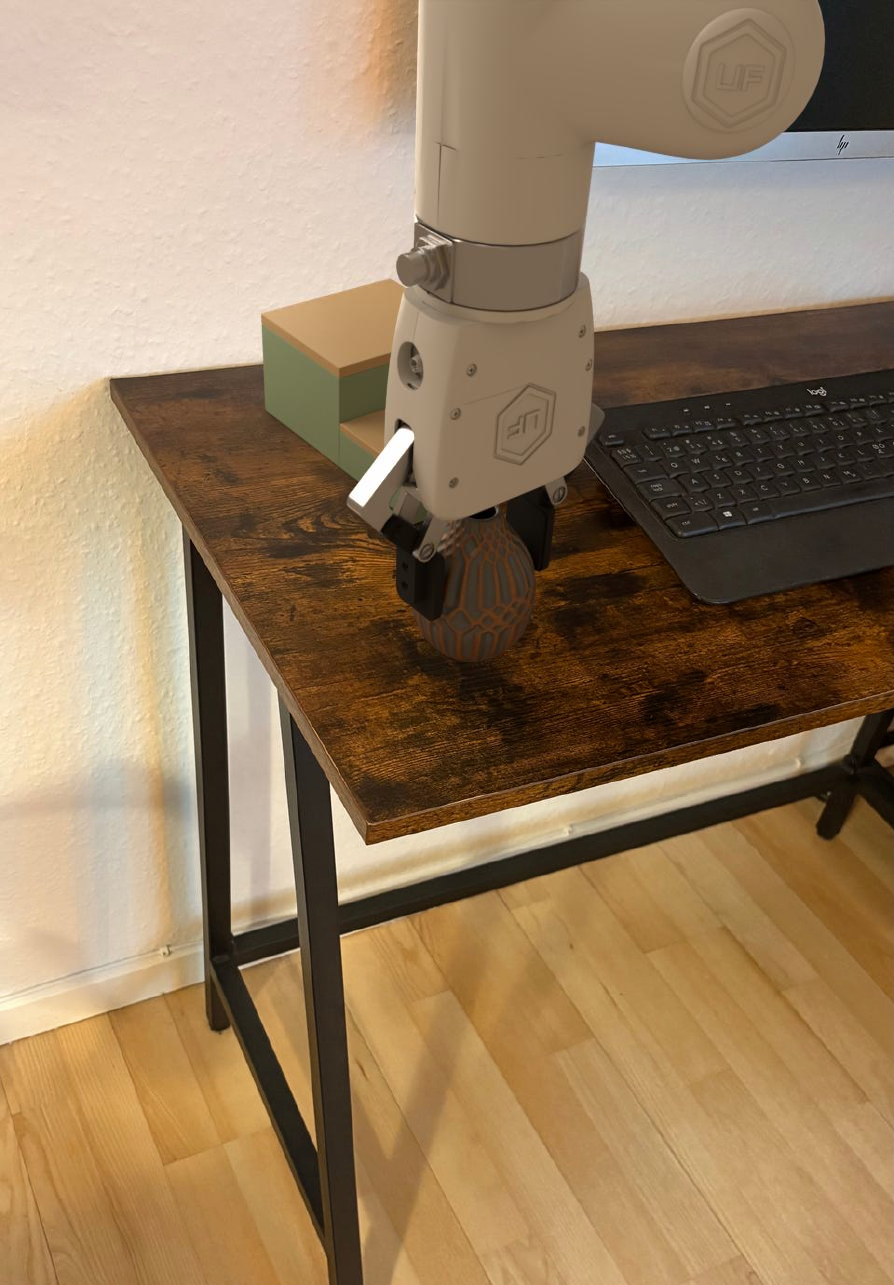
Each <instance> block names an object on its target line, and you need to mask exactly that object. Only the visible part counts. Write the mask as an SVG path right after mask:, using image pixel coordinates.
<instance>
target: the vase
mask: <svg viewBox="0 0 894 1285" xmlns="http://www.w3.org/2000/svg"><path fill="white" fill-rule="evenodd" d="M437 552H439V553H440V554H441V555H442V556H443V557H444V559H445V577H444V596H443V613H442V614H441V617H440V618H439V619H437V620H435V621H432V622H430V621H428V620H427V619H426V618H425V617H424V616H422V615H421V614H420V613H419V612H417V611H416V610H415V609H414V608H413V607H411V610H412V614H413V616H414V617H413V618H414V619H415V622H416V625H417V627H418V630H419V631H420V634H421V635H422V636H423V638H424V639H425V640H426V641H427V642H428V643H429V645H431V646H432V647H433V648H434V649H435V650H437V651H438V652H440V653H441V654H443V655H444V656H446V657H448V658H451V659H453V660H456V661H459V662H464V663H465V662H466V663H477V662H485V661H488V660H491V659H494V658H496V657H498V656H500V655H502V654H503V653H505V652H506V651H508V650H509V649H510V648H512V647H513V646H514V645H515V644H516V643H517V642H518V640H519V639H520V638H521V637H522V635H524V632H525V630H526V629H527V627H528V625H529V623H530V620H531V617H532V615H533V610H534V607H535V602H536V601H535V600H536V595H537V576H536V571H535V570H534V565H533V561H532V558H531V555H530V553H529V550H528V548H527V546H526V545H525V543H524V541H523V540H522V539H521V537H520V536H519V535H518V534H517V532H516V531H515V530H514V529H513V528H512V526H511V525H510V524H509V523H508V522H507V520H506V515H505V514H504V512H503V509H502V506H501V505H500V504H498V505H495V506H493V507H490V508H488V509H486V510H483V511H481V512H478V513H476V514H473V515H471V516H468V517H465V518H462V519H459V520H454V521H449V523H448V525H447V528H446V530H445V532H444V535H443V537H442V539H441V542H440V544H439V546H438V549H437Z"/></svg>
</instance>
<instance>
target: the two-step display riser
mask: <svg viewBox="0 0 894 1285" xmlns="http://www.w3.org/2000/svg"><path fill="white" fill-rule="evenodd" d="M406 288H407V287H406V286H405V285H403V284H400V283H399V282H397V281H396V280H394V279H392V278H386V279H382V280H379V281H374V282H371V283H368V284H364V285H360V286H356V287H353V288H350V289H345V290H341V291H338V292H334V293H331V294H328V295H327V294H326V295H324V296H320V297H317V298H313V299H309V300H305V301H301V302H298V303H294V304H289V305H287V306H283V307H279V308H276V309H272V310H268V311H264V312H261V313H260V319H261V320H260V323H261V346H262V364H263V365H262V367H263V368H262V370H263V384H264V385H263V386H264V387H263V388H264V409H265V411H266V412H267V413H268V414H270V415H271V416H272V417H274V418H275V419H276V420H278V421H279V422H280V423H282V424H283V425H284V426H285V427H287V428H288V429H289V430H290V431H292V432H293V433H294V434H296V436H298V437H300V438H301V439H302V440H303V441H305V442H306V443H307V444H309V445H310V446H311V447H313V448H314V449H315V450H317V451H318V452H319V453H320V454H322V455H323V456H324V457H326V458H327V460H329V461H331V462H332V463H333V464H335V465H336V466H337V467H338V468H339V469H341V470H342V471H343V472H345V473H346V474H347V475H349V476H350V477H351V478H353V479H354V480H355V481H357V482H358V483H359V481H360V480H361V479H362V477H363V476H364V475H365V473H366V472H367V471H368V469H369V468H370V467H371V465H372V464H373V463H374V461H375V460H376V459H377V457H378V456H379V455H380V453H381V452H382V451H383V450H384V431H385V408H386V396H387V384H388V375H389V366H390V359H391V352H392V345H393V339H394V334H395V328H396V323H397V318H398V313H399V309H400V304H401V300H402V296H403V291H404V290H405V289H406ZM401 489H402V486H401V487H400V488H399V489H398V491H397V492H396V493H395V495H394V496H393V497H392V499H391V502H390V508H391V509H393V508H394V506H395V503H396V501H397V499H398V496H399V494H400V491H401ZM427 512H428V511H427V510H426V509H425V508H424V506H423V504H421V505H420V507H419V509H418V512H417V514H416V517H415V519H414V521H413V524H412V525H416V524H419V523H421V522H423V521H424V519H425V516H426V514H427Z"/></svg>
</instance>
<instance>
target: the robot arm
mask: <svg viewBox="0 0 894 1285" xmlns="http://www.w3.org/2000/svg"><path fill="white" fill-rule="evenodd" d="M417 14H418V15H417V16H418V18H417V19H418V20H417V61H416V62H417V63H416V64H417V66H416V103H415V104H416V106H415V108H416V109H415V110H416V111H415V145H414V146H415V148H414V149H415V151H414V196H413V234H412V236H413V237H412V248H411V249H410V251H408V252H404V253H401V254H399V255H398V256H397V259H396V262H395V269H396V274H397V277H398V280H399V281H400V282H401V285H402V286H404V287H405V288H406V289H405V290H404V291H403V296H402V300H401V304H400V309H399V313H398V318H397V323H396V328H395V334H394V339H393V345H392V352H391V359H390V366H389V375H388V384H387V396H386V408H385V431H384V450H383V451H382V452H381V453H380V455H379V456H378V457H377V459H376V460H375V461H374V463H373V464H372V465H371V467H370V468H369V469H368V471H367V472H366V473H365V475H364V476H363V477H362V479H361V480H360V481H359V482H358V483H357V484H356V485H355V487H354V488H353V489H352V491H351V492H350V493H349V495H348V496H347V499H346V507H347V508H348V509H349V510H351V511H352V512H353V513H354V514H356V516H358V517H359V518H360V519H361V520H363V521H364V522H365V523H366V524H368V525H369V526H370V527H371V528H373V529H374V530H375V531H376V532H377V533H379V534H380V535H381V536H383V537H384V538H386V540H388V541H389V542H390V543H392V544H394V545H395V546H396V548H395V589H396V594H397V595H398V597H399V598H400V599H401V600H402V601H403V602H404V603H405V604H407V605H408V606H410V607H411V608H412V607H413V608H414V609H415V610H416V611H417V612H419V613H420V614H421V615H422V616H424V617H425V618H426V619H427V620H428V621H430V622H432V621H435V620H437V619H439V618H440V617H441V614H442V613H443V596H444V577H445V559H444V557H443V556H442V555H441V554H440V553H439V552H437V549H438V546H439V544H440V542H441V539H442V537H443V535H444V532H445V530H446V528H447V525H448V523H449V521H454V520H459V519H462V518H465V517H468V516H471V515H473V514H476V513H478V512H481V511H483V510H486V509H488V508H490V507H493V506H495V505H498V504H499V505H500V504H502V503H505V502H506V510H505V518H506V520H507V522H508V523H509V524H510V525H511V526H512V528H513V529H514V530H515V531H516V532H517V534H518V535H519V536H520V537H521V539H522V540H523V541H524V543H525V545H526V546H527V548H528V550H529V553H530V555H531V558H532V561H533V565H534V570H535V572H538V573H540V572H542V571H545V570H547V569H548V568H549V567H550V560H551V559H550V558H551V552H552V543H553V536H554V528H555V520H556V511H557V509H556V508H555V506H559V505H560V504H562V503H563V502H564V501H565V499H566V498H567V495H568V492H569V490H568V486H567V482H568V481H569V480H570V478H571V476H572V475H573V474H574V472H575V471H576V470H577V468H578V467H579V465H580V464H581V463H582V461H583V459H584V458H585V457H584V456H585V453H586V449H587V448H588V446H589V444H590V443H591V441H592V440H593V438H594V437H595V435H596V434H597V432H598V431H599V429H600V428H601V426H602V425H603V423H604V421H605V417H606V414H605V412H604V410H602V409H601V408H600V407H598V406H597V405H596V404H595V403H594V402H593V401H592V400H593V399H592V398H593V387H594V386H593V385H594V368H595V367H594V366H595V365H594V364H595V325H594V324H595V323H594V321H595V320H594V307H593V297H592V292H591V291H592V290H591V283H590V279H589V277H588V276H587V275H586V274H585V273H584V272H583V271H581V267H582V259H583V252H584V244H585V235H586V226H587V216H588V210H589V201H590V192H591V184H592V177H593V168H594V162H595V161H594V160H595V154H596V153H595V151H596V144H597V143H600V144H605V145H611V146H616V147H621V148H628V149H632V150H637V151H642V152H646V153H647V152H648V153H652V154H657V155H662V156H668V157H673V158H674V157H675V158H680V159H685V160H695V161H696V160H698V161H699V160H700V161H715V160H716V161H717V160H724V159H730V158H735V157H740V156H742V155H746V154H749V153H751V152H753V151H756V150H758V149H760V148H762V147H764V146H766V145H767V144H769V143H770V142H772V141H774V140H775V139H777V138H778V137H779V136H780V135H782V134H783V133H784V132H786V131H787V129H788V128H789V127H790V126H791V125H792V124H793V123H794V122H795V121H796V120H797V119H798V118H799V116H800V115H801V113H802V112H803V111H804V109H805V108H806V106H807V104H808V103H809V101H810V100H811V98H812V96H813V94H814V91H815V89H816V87H817V85H818V82H819V79H820V77H821V76H820V75H821V72H822V68H823V65H824V64H823V63H824V57H825V44H826V36H825V33H826V32H825V23H824V19H823V13H822V10H821V6H820V4H819V1H818V0H418V13H417ZM401 486H402V489H401V491H400V494H399V496H398V499H397V501H396V503H395V506H394V508H392V507H390V502H391V499H392V497H393V496H394V495H395V493H396V492H397V491H398V489H399V488H400V487H401ZM421 504H423V506H424V508H425V509H426V510H427V511H428V512H427V514H426V516H425V519H424V521H422V524H421V526H420V528H417V527H416V526H415V525H414V524H413V521H414V519H415V517H416V514H417V512H418V509H419V507H420V505H421Z"/></svg>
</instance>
